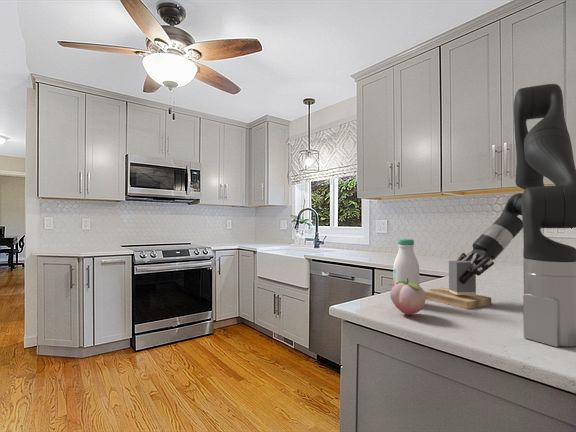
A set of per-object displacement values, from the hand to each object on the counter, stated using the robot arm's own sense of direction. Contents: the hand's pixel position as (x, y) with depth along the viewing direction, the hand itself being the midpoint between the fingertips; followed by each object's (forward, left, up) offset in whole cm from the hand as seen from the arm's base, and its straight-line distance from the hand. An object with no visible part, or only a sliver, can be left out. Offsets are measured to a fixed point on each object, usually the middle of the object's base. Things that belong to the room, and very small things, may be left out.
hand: (456, 280), depth 102 cm
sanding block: (+2, -1, -4) cm, 5 cm away
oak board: (+2, +2, -7) cm, 8 cm away
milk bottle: (-15, +6, -7) cm, 18 cm away
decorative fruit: (-24, -3, -7) cm, 25 cm away
